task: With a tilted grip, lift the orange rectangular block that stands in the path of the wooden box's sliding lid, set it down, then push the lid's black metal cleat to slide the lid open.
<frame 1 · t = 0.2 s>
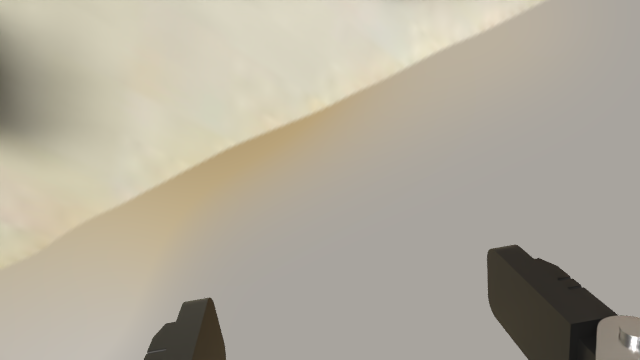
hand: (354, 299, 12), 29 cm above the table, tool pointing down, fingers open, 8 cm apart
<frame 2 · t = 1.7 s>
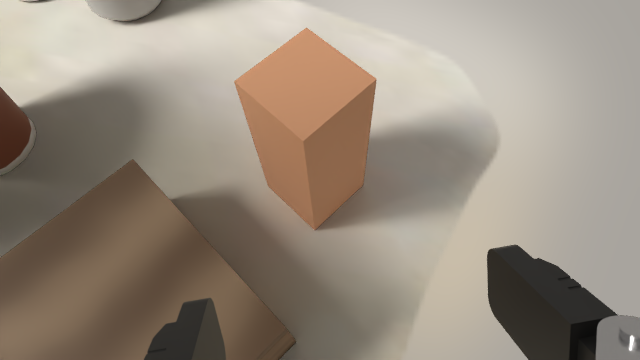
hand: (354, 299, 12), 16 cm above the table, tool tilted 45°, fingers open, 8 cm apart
can: (132, 0, 42), on the table
orange rectangular block: (315, 185, 32), on the table
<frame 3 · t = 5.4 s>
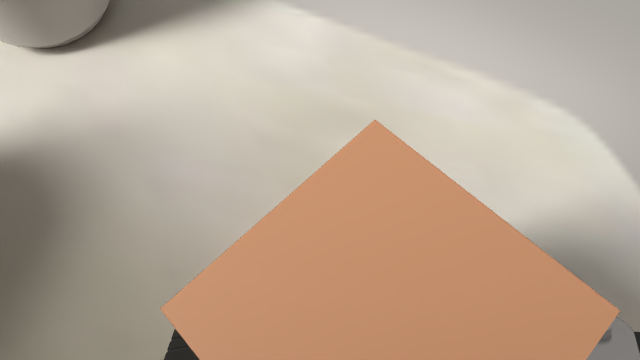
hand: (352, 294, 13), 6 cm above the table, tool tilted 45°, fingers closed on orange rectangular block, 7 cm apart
can: (60, 15, 27), on the table
when the fingers open (7 cm above the table, at t = 10.9 s): orange rectangular block drops 1 cm, on the table.
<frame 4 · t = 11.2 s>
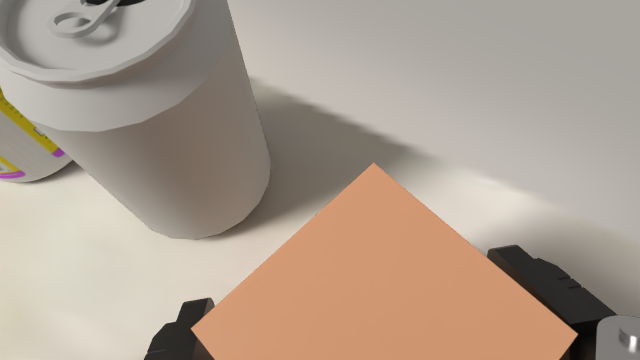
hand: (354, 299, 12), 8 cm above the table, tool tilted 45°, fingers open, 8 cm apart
can: (204, 179, 23), on the table
supplement bottle: (40, 137, 25), on the table
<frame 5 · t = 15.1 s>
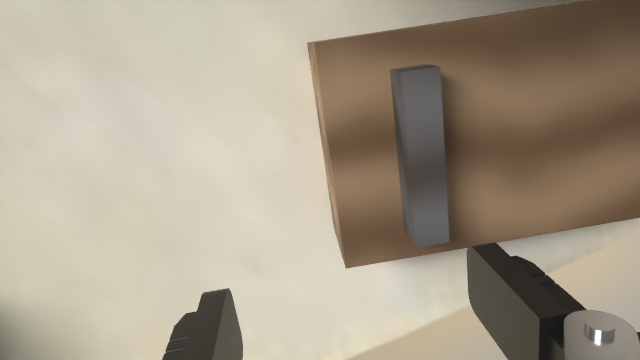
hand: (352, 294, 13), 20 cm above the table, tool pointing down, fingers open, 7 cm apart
lid: (500, 141, 25), point 7 cm above the table, slide at 0.0 cm
wooden box: (455, 121, 32), on the table
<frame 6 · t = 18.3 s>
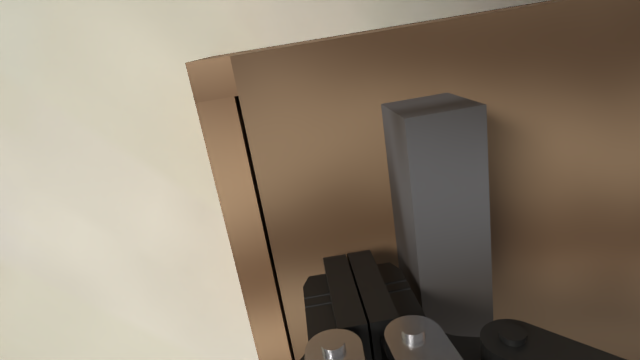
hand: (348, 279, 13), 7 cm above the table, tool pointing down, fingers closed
lid: (588, 231, 14), point 7 cm above the table, slide at 1.5 cm, touching gripper
wooden box: (458, 175, 20), on the table
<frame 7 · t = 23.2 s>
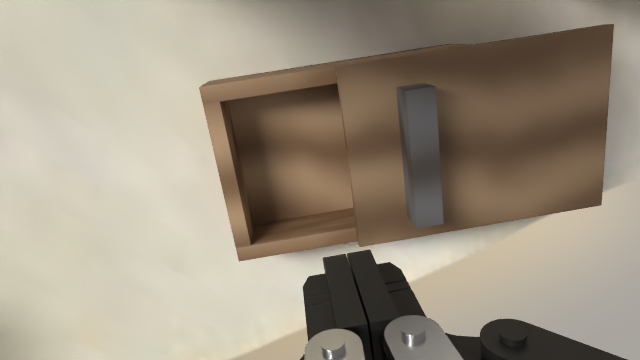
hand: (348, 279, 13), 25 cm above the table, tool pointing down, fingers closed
lid: (484, 143, 32), point 7 cm above the table, slide at 9.8 cm
wooden box: (341, 144, 38), on the table
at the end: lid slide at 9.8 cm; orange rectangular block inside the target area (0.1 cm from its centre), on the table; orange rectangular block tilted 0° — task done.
